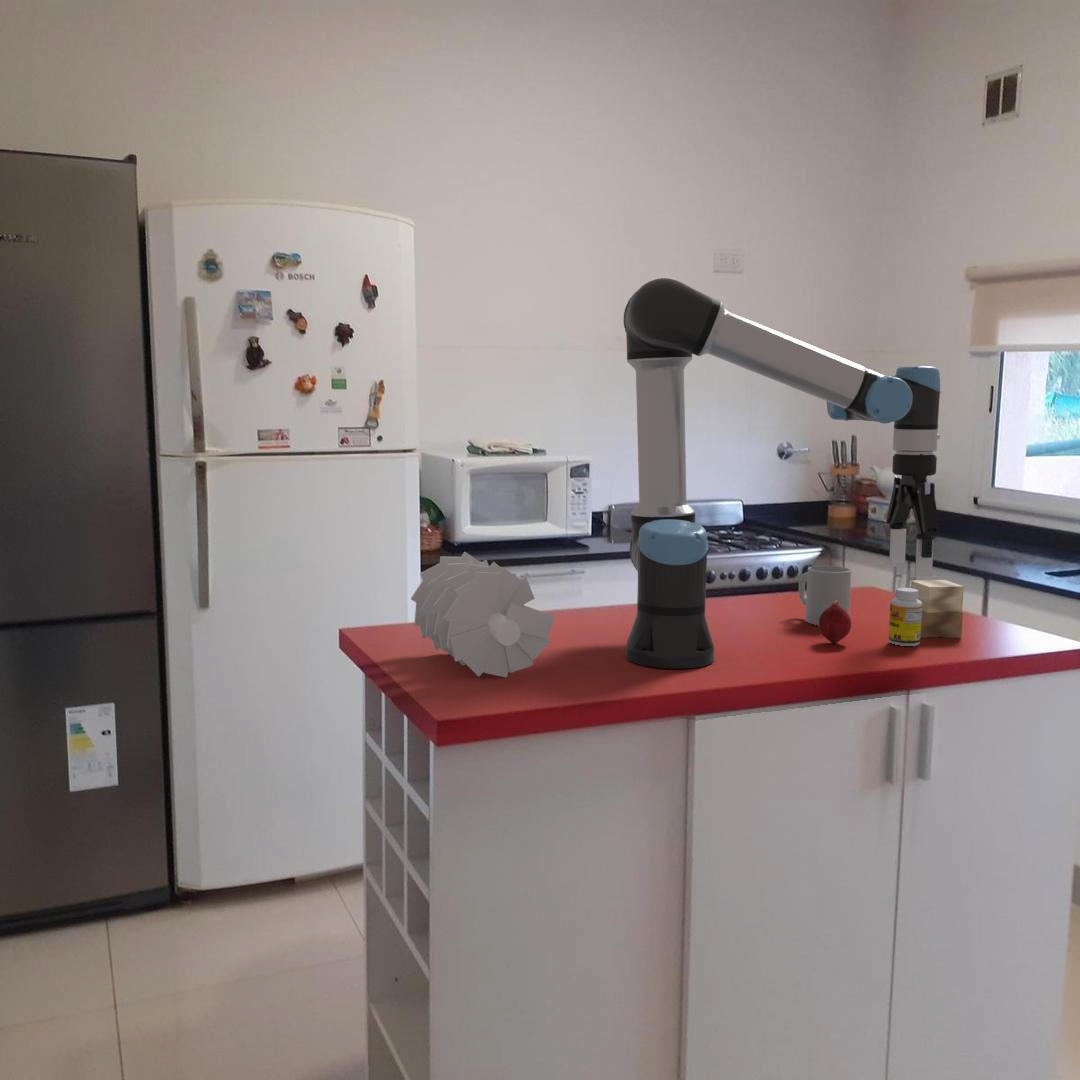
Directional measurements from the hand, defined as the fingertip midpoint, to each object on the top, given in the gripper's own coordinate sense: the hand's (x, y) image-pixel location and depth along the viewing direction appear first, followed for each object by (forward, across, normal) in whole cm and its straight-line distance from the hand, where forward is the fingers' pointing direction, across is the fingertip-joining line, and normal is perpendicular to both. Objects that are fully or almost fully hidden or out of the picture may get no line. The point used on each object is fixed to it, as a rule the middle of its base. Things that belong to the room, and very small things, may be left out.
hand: (909, 569), depth 200 cm
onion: (+14, 0, +14) cm, 19 cm away
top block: (+9, +9, -9) cm, 16 cm away
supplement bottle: (+14, 0, 0) cm, 14 cm away
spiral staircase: (+13, -16, +78) cm, 81 cm away
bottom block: (+14, +9, -9) cm, 19 cm away
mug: (+14, +20, +10) cm, 27 cm away
